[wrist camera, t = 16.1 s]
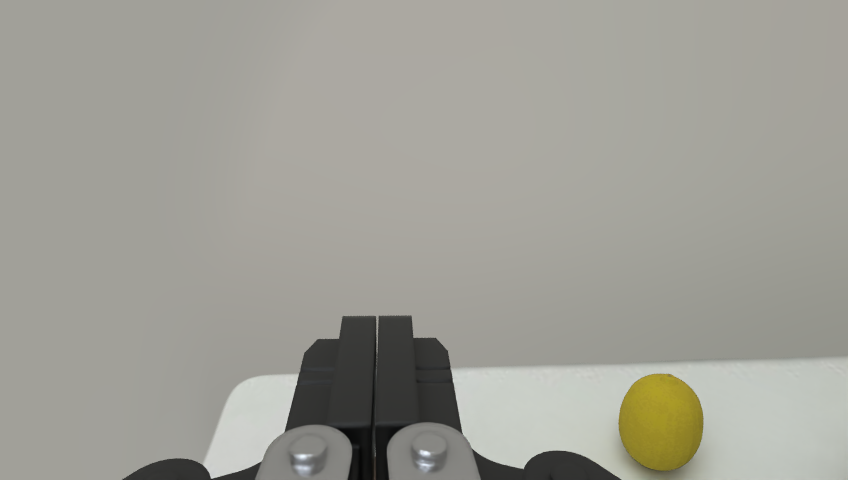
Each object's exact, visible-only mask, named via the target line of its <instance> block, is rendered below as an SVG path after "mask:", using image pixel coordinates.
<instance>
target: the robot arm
mask: <svg viewBox="0 0 848 480" xmlns="http://www.w3.org/2000/svg"><path fill="white" fill-rule="evenodd" d="M378 326H379V327H378V353H377V352H376V316H343V318H342V324H341V330H340V337H339V339H318V340H317V341H316V342H315V343H314V344H313V345H312V346H311V347H310V348H309V349H308V350H307V351H306V352H305V353H304V357H303V361H302V365H301V371H300V373H299V377H298V381H297V385H296V389H295V393H294V397H293V401H292V405H291V409H290V413H289V417H288V421H287V425H286V429H285V432H284V433H283V434H282V435H280V436H279V437H277V438H276V439H275V440H274V441H273V442H272V443H271V444H270V446H269V447H268V449H267V451H266V453H265V455H264V458H263V460H262V462H260V463H258V464H256V465H254V466H252V467H250V468H248V469H245V470H242V471H239V472H235V473H232V474H228V475H224V476H221V477H217V478H213V479H211V478H210V474H209V472H208V471H207V469H206V468H205V467H204V466H203V465H202V464H200V463H198V462H196V461H193V460H189V459H167V460H163V461H158V462H155V463H152V464H150V465H147V466H145V467H143V468H141V469H139V470H137V471H136V472H134V473H132V474H131V475H129V476H127V477H126V478H124V479H123V480H374V469H375V458H376V480H621V479H620V478H618V477H617V476H615V475H613V474H612V473H610V472H609V471H607V470H606V469H604V468H603V467H601V466H600V465H598V464H597V463H595V462H593V461H592V460H590V459H588V458H586V457H584V456H581V455H579V454H576V453H572V452H567V451H548V452H543V453H541V454H538V455H536V456H534V457H533V458H531V459H530V460H529V461H528V462H527V464H526V465H525V467H524V469H520V468H515V467H511V466H507V465H502V464H499V463H495V462H493V461H490V460H488V459H486V458H484V457H483V456H481V455H479V454H478V453H477V452H475V451H474V450H473V449H472V448H471V446H470V443H469V442H468V440H467V439H466V437H465V436H464V435H463V433H462V429H461V424H460V418H459V412H458V407H457V401H456V395H455V390H454V384H453V378H452V373H451V370H450V362H449V356H448V351H447V350H446V349H445V348H444V346H443V345H442V344H441V343H440V342H439V341H438V340H437V339H436V338H413V330H412V317H411V316H379V324H378ZM376 353H377V354H376Z"/></svg>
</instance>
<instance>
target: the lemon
mask: <svg viewBox="0 0 848 480" xmlns="http://www.w3.org/2000/svg"><path fill="white" fill-rule="evenodd" d="M619 433H620V436H621V440H622V443H623V445H624V447H625V448H626V450H627V451H628V453H629V454H630V455H631V456H632V457H633V458H634V459H635V460H636V461H637V462H639V463H640V464H642V465H643V466H645V467H648V468H650V469H654V470H659V471H669V470H673V469H677V468H680V467H681V466H683V465H684V464H686V463H687V462H689V461H690V460H691V458H692V457H693V456H694V454H695V453H696V451H697V449H698V448H699V445H700V443H701V439H702V433H703V412H702V408H701V404H700V401H699V399H698V397H697V395H696V394H695V393H694V391H693V390H692V389H691V388H690V387H689V386H688V385H687V384H686V383H685V382H683V381H682V380H680V379H678V378H676V377H674V376H673V375H671V374H652V375H648V376H645V377H643V378H641V379H639V380H638V381H636V382H635V383H634V384H633V385H632V386H631V388H630V389H629V391H628V392H627V394H626V396H625V397H624V400H623V402H622V405H621V408H620V414H619Z"/></svg>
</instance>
